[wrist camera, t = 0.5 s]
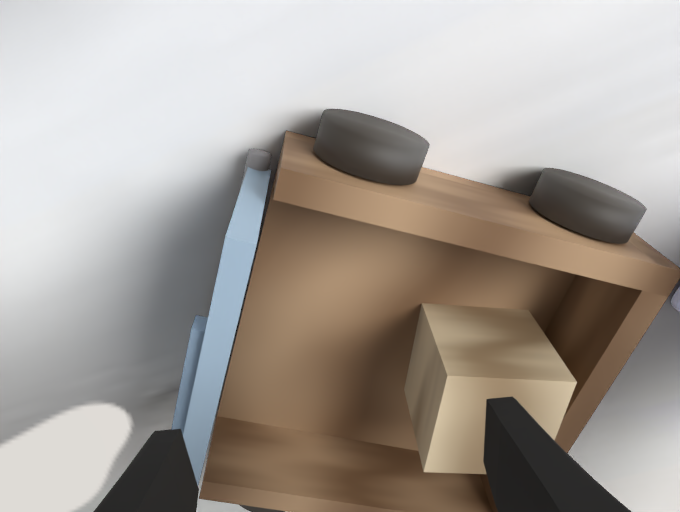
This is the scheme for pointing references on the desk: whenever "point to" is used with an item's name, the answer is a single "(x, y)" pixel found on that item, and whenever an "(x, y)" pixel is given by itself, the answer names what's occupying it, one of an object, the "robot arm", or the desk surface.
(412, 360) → the block
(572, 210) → the truck bed
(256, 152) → the panel
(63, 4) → the desk surface
